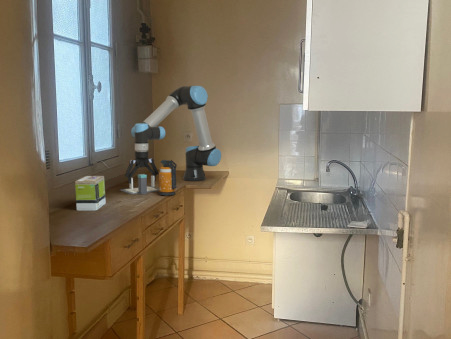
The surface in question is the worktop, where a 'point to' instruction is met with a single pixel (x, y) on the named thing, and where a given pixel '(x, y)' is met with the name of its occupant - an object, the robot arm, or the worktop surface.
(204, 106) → the robot arm
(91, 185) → the tea box
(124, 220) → the worktop surface
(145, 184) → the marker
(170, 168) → the canister
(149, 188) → the paper
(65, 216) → the worktop surface
